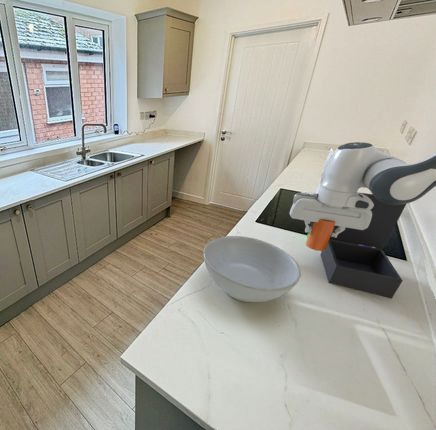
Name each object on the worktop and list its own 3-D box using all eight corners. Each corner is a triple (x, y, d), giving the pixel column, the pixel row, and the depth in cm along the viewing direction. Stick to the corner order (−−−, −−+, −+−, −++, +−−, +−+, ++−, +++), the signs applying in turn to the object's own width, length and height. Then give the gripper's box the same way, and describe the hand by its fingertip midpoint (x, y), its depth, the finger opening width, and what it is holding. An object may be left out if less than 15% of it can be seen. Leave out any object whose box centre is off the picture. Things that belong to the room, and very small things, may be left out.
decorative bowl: (203, 257, 101) (207, 230, 96) (282, 272, 92) (292, 244, 87) (194, 306, 79) (199, 275, 74) (296, 333, 70) (311, 300, 65)
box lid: (409, 199, 81) (407, 198, 82) (346, 191, 88) (345, 190, 89) (383, 248, 89) (382, 247, 90) (327, 238, 96) (326, 237, 97)
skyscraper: (307, 198, 147) (324, 148, 135) (318, 196, 149) (336, 147, 137) (321, 204, 140) (340, 152, 127) (332, 202, 142) (353, 151, 129)
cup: (323, 244, 90) (335, 215, 85) (326, 252, 86) (339, 223, 81) (304, 240, 93) (314, 212, 88) (306, 248, 88) (317, 219, 83)
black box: (390, 300, 80) (402, 280, 76) (327, 284, 86) (336, 266, 83) (372, 267, 94) (382, 249, 90) (319, 256, 100) (326, 239, 97)
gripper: (296, 194, 83) (284, 231, 89) (381, 205, 74) (361, 246, 80) (295, 187, 88) (283, 223, 94) (374, 197, 79) (356, 236, 85)
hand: (320, 234), depth 87 cm, fingers closed on cup, 5 cm apart
